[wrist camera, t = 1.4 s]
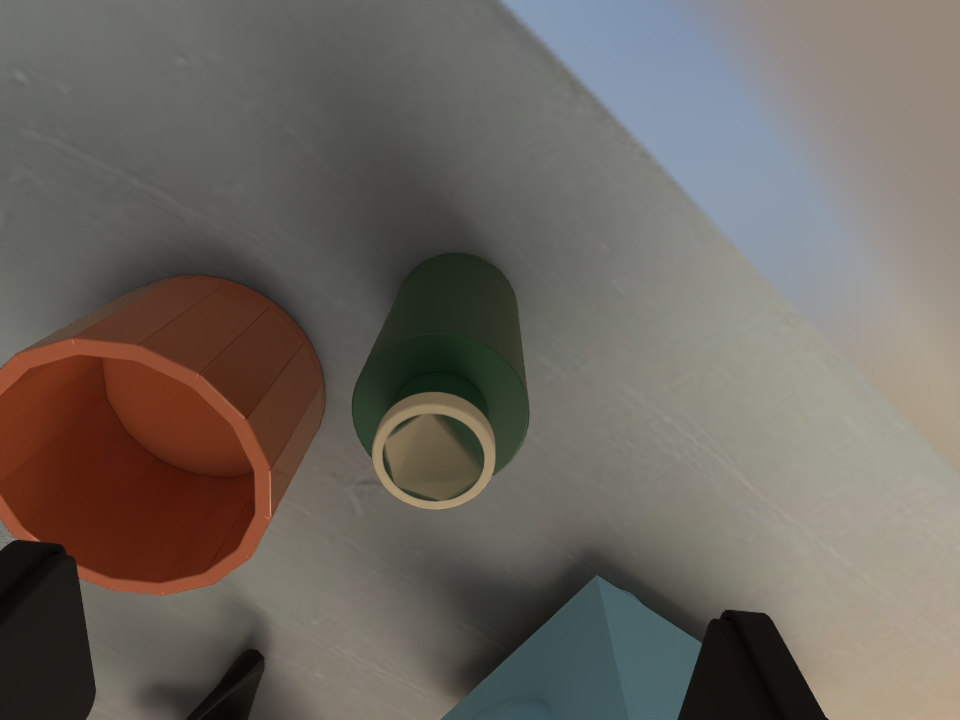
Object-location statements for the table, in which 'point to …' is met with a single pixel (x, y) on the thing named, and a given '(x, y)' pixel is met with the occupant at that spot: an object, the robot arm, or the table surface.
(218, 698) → the figurine
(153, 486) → the cup
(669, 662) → the teapot
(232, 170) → the table surface
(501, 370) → the bottle
